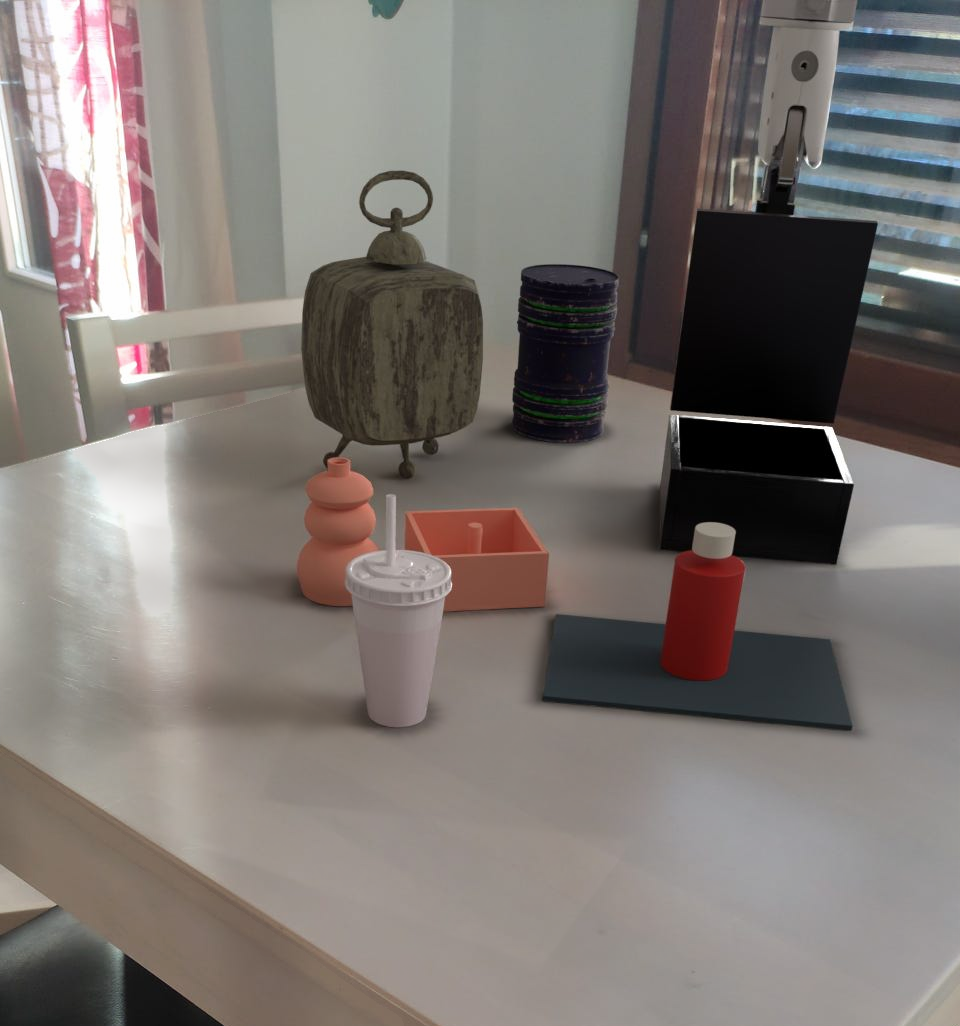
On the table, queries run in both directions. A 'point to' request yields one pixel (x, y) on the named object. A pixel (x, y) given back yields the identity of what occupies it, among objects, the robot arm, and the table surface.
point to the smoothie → (397, 625)
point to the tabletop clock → (392, 341)
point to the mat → (736, 695)
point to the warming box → (755, 487)
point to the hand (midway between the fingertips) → (767, 251)
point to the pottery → (421, 546)
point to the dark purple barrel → (563, 351)
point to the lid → (770, 314)
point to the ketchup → (703, 605)
